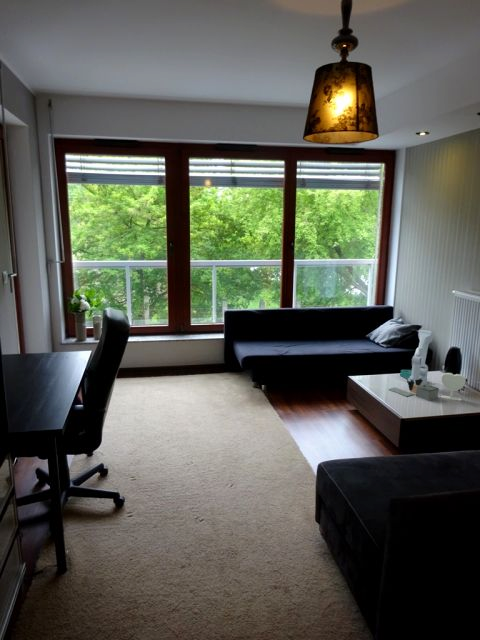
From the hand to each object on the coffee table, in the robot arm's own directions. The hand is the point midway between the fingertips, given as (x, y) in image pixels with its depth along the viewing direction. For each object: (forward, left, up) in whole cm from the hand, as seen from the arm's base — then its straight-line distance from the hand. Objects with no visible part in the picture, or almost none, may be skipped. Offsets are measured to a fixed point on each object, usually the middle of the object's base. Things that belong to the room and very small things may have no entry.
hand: (413, 389), depth 336 cm
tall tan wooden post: (0, +3, -2) cm, 4 cm away
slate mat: (+9, -5, -2) cm, 10 cm away
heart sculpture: (-15, +21, -3) cm, 26 cm away
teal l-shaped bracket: (-27, -20, -3) cm, 33 cm away
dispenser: (0, +11, -2) cm, 11 cm away
